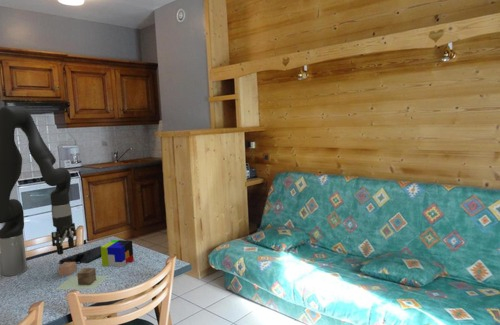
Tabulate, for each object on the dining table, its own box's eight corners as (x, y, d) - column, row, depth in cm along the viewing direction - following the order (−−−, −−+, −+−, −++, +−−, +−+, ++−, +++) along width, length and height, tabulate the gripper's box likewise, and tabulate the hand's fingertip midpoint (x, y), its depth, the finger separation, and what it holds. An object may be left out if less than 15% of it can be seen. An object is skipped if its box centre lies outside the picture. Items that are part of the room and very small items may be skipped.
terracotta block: (59, 277, 154) (58, 266, 154) (65, 272, 159) (64, 262, 159) (70, 277, 154) (69, 266, 154) (76, 272, 159) (75, 261, 158)
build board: (55, 292, 141) (55, 289, 141) (72, 278, 153) (71, 276, 152) (94, 291, 140) (94, 288, 140) (108, 278, 152) (108, 275, 152)
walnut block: (78, 285, 144) (77, 273, 143) (84, 279, 149) (83, 268, 148) (90, 284, 143) (89, 273, 143) (96, 279, 148) (95, 267, 148)
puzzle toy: (122, 269, 161) (120, 248, 160) (102, 268, 163) (100, 247, 162) (133, 260, 171) (132, 240, 169) (114, 259, 173) (113, 239, 171)
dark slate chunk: (114, 253, 182) (113, 245, 181) (74, 270, 163) (73, 260, 162) (94, 249, 189) (94, 240, 189) (54, 264, 171) (53, 254, 170)
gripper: (62, 210, 161) (66, 245, 163) (43, 219, 147) (47, 257, 149) (78, 209, 160) (82, 244, 162) (60, 218, 146) (65, 256, 148)
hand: (66, 250), depth 155 cm, fingers open, 8 cm apart
